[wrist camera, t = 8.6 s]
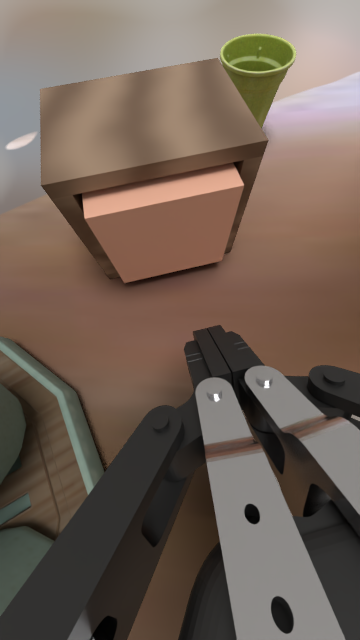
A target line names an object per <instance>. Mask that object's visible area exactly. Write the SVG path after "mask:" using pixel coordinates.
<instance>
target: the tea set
mask: <svg viewBox="0 0 360 640" xmlns="http://www.w3.org/2000/svg"><path fill="white" fill-rule="evenodd" d="M104 473H105V472H104V469H103V466H102V463H101V461H100V458H99V455H98V452H97V449H96V446H95V444H94V441H93V438H92V435H91V432H90V430H89V427H88V424H87V421H86V418H85V415H84V413H83V410H82V407H81V404H80V401H79V398H78V396H77V393H76V392H75V391H74V390H73V389H72V388H71V387H69V386H68V385H67V384H66V383H64V382H63V381H62V380H61V379H59V378H58V377H57V376H56V375H54V374H53V373H52V372H51V371H49V370H48V369H47V368H46V367H44V366H43V365H42V364H41V363H39V362H38V361H37V360H36V359H34V358H33V357H32V356H31V355H29V354H28V353H27V352H26V351H24V350H23V349H22V348H21V347H19V346H18V345H17V344H16V343H14V342H13V341H12V340H11V339H8V338H4V337H0V616H1V615H2V613H3V612H4V611H5V609H6V608H7V606H8V605H9V604H10V602H11V601H12V599H13V598H14V597H15V595H16V594H17V593H18V591H19V590H20V588H21V587H22V586H23V584H24V583H25V582H26V580H27V579H28V577H29V576H30V575H31V573H32V572H33V570H34V569H35V568H36V566H37V565H38V564H39V562H40V561H41V559H42V558H43V557H44V555H45V554H46V553H47V551H48V550H49V548H50V547H51V546H52V544H53V543H54V542H55V540H56V539H57V537H58V536H59V535H60V533H61V532H62V530H63V529H64V528H65V526H66V525H67V524H68V522H69V521H70V519H71V518H72V517H73V515H74V514H75V513H76V511H77V510H78V508H79V507H80V506H81V504H82V503H83V502H84V500H85V499H86V497H87V496H88V495H89V493H90V492H91V490H92V489H93V488H94V486H95V485H96V484H97V482H98V481H99V479H100V478H101V477H102V475H103V474H104Z"/></svg>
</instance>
